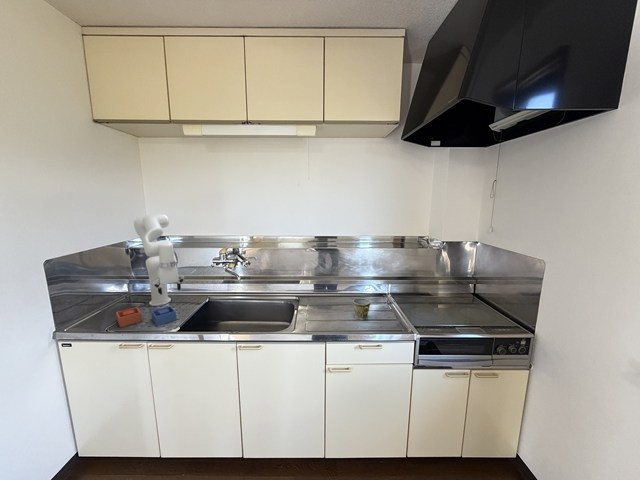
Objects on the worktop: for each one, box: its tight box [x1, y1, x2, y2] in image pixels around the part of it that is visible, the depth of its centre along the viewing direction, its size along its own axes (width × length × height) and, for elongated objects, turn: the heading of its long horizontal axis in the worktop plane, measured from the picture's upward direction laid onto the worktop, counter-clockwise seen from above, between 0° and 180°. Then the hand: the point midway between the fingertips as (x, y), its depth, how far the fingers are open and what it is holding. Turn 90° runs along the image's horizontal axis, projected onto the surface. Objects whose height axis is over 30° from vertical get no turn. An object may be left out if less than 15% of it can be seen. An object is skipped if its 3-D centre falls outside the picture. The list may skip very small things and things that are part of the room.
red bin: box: [115, 306, 143, 328], centre depth 155 cm, size 10×10×6 cm
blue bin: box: [150, 305, 177, 327], centre depth 157 cm, size 10×10×6 cm
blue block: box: [157, 309, 170, 316], centre depth 157 cm, size 5×5×5 cm
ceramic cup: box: [352, 297, 371, 321], centre depth 158 cm, size 13×10×10 cm
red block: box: [122, 310, 135, 316], centre depth 155 cm, size 5×5×5 cm
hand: (170, 292), depth 161 cm, fingers open, 9 cm apart
